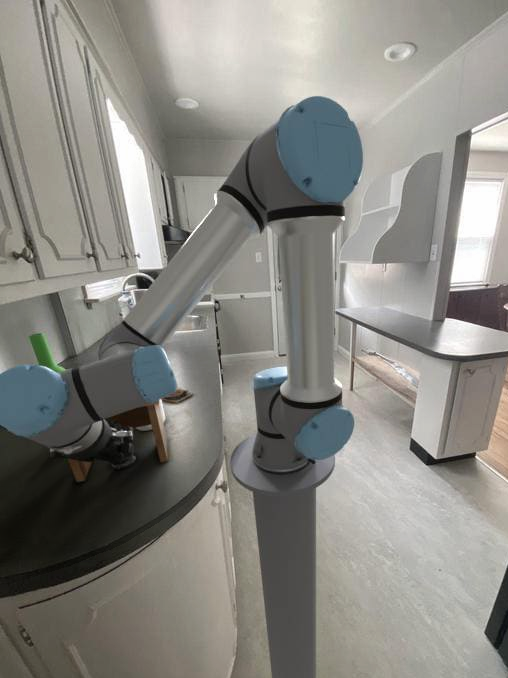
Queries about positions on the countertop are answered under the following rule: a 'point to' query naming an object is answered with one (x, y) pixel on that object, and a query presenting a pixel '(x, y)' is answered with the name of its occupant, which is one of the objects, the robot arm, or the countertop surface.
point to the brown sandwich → (178, 396)
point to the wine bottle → (43, 352)
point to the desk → (133, 419)
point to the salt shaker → (126, 458)
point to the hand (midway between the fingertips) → (118, 458)
